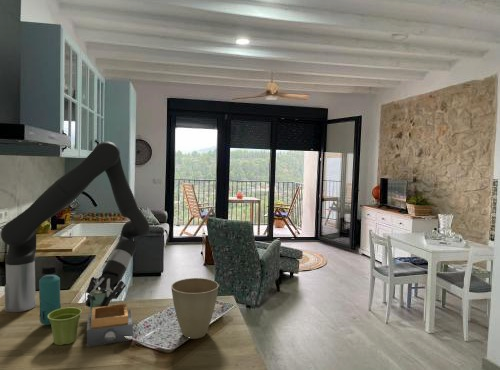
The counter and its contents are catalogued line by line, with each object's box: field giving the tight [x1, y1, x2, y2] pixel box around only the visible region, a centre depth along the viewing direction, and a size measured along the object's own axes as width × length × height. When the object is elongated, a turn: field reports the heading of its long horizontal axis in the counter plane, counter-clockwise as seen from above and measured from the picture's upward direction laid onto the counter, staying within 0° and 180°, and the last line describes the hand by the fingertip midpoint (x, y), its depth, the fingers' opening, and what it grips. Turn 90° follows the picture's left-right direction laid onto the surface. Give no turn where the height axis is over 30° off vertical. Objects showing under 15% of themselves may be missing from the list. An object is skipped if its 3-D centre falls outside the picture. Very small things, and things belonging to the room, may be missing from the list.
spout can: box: [86, 290, 107, 315], centre depth 133 cm, size 8×6×10 cm
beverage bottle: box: [38, 264, 62, 325], centre depth 128 cm, size 6×7×20 cm
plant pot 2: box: [170, 277, 220, 340], centre depth 123 cm, size 15×15×16 cm
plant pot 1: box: [48, 306, 83, 346], centre depth 117 cm, size 9×9×9 cm
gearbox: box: [86, 303, 134, 348], centre depth 121 cm, size 13×14×8 cm
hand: (95, 307), depth 132 cm, fingers closed on spout can, 5 cm apart
